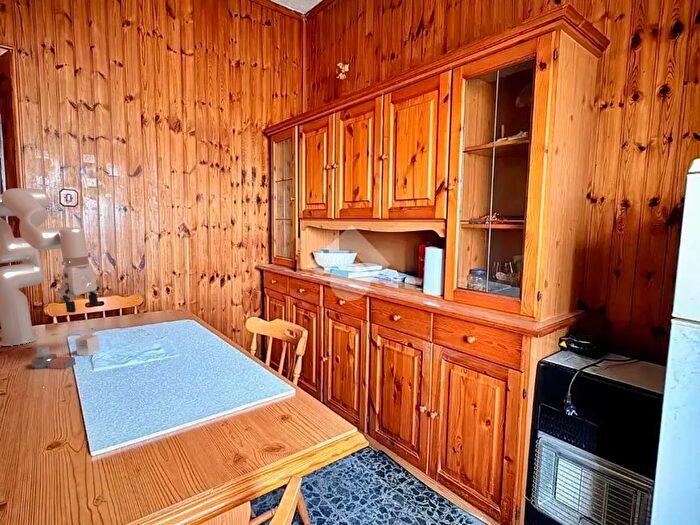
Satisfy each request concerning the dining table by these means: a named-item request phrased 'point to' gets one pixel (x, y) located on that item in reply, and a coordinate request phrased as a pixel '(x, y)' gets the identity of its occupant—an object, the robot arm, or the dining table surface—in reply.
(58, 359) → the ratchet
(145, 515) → the dining table surface
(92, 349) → the brushed aluminum cube
